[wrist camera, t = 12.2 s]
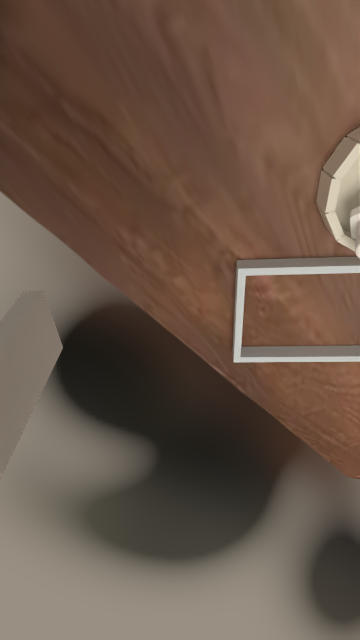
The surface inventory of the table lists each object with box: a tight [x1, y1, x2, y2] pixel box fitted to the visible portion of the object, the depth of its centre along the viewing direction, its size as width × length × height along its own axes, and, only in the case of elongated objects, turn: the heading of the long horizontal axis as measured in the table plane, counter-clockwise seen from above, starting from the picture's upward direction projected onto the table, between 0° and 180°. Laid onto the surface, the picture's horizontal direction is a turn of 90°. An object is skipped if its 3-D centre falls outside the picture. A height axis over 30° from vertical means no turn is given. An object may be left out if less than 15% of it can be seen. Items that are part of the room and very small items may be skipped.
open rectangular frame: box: [232, 257, 360, 362], centre depth 48 cm, size 16×24×2 cm, turn 93°
